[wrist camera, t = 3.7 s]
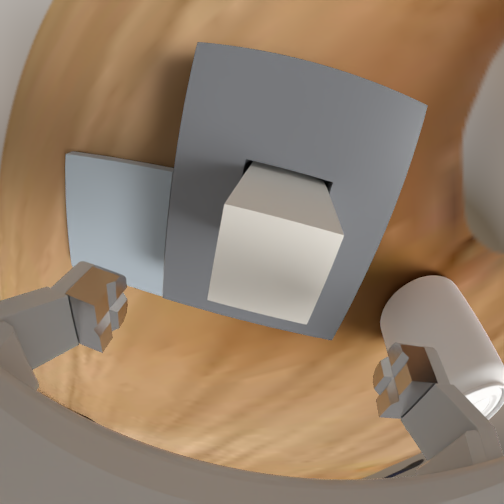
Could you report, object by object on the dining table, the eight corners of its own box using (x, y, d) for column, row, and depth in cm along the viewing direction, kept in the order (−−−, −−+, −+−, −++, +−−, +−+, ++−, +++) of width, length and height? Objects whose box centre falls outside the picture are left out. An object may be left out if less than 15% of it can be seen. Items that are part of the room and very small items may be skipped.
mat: (72, 151, 20) (65, 153, 20) (177, 168, 20) (172, 172, 19) (77, 260, 26) (71, 265, 25) (166, 289, 26) (162, 296, 25)
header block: (220, 56, 16) (197, 42, 12) (396, 103, 16) (427, 105, 12) (185, 261, 24) (162, 297, 20) (327, 297, 24) (331, 340, 19)
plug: (258, 153, 18) (224, 203, 9) (319, 169, 18) (344, 235, 9) (245, 210, 20) (207, 300, 11) (302, 224, 20) (306, 324, 11)
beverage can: (447, 333, 24) (486, 430, 14) (375, 346, 26) (395, 456, 15) (464, 265, 21) (531, 365, 10) (381, 276, 22) (424, 400, 12)
